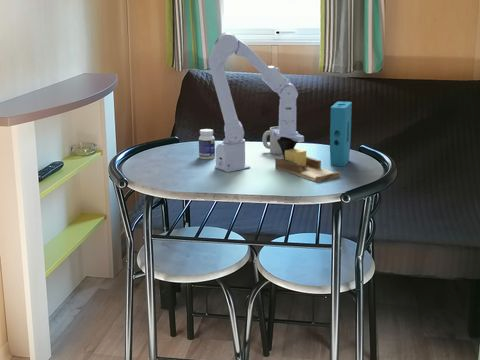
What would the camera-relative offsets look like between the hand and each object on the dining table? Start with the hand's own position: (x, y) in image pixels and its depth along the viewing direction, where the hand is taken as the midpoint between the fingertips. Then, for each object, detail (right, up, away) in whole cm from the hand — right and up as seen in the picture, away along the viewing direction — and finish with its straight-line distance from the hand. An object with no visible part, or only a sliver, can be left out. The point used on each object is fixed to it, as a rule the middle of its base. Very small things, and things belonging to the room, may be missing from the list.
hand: (287, 159), depth 226 cm
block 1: (+2, -2, -3) cm, 4 cm away
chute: (+5, -4, -7) cm, 10 cm away
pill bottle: (-28, +1, +13) cm, 31 cm away
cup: (-3, +3, +19) cm, 20 cm away
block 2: (+18, -1, +4) cm, 19 cm away
